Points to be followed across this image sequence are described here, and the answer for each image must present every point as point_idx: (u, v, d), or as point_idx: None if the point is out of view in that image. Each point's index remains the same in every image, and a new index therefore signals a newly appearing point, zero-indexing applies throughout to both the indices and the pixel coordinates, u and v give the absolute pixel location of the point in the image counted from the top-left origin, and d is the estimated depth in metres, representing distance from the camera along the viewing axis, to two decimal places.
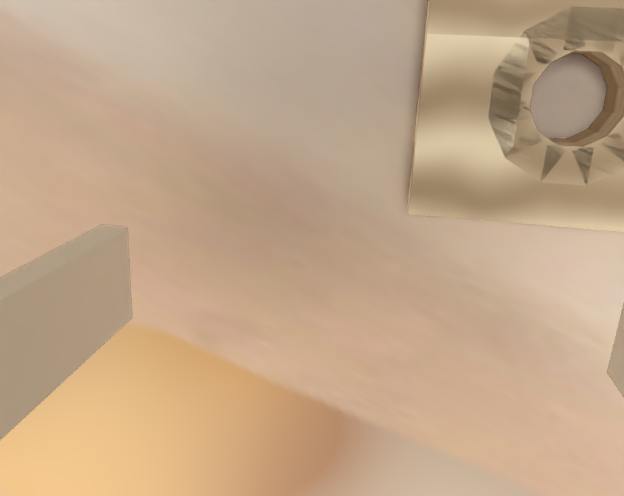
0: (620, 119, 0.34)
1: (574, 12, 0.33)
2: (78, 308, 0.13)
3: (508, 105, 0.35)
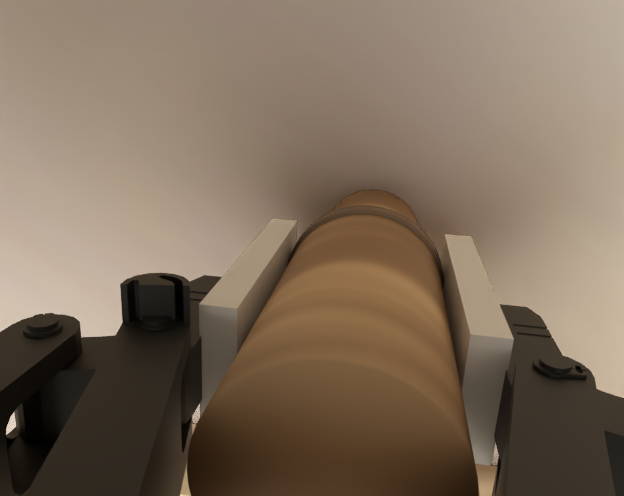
0: None
1: None
2: None
3: None
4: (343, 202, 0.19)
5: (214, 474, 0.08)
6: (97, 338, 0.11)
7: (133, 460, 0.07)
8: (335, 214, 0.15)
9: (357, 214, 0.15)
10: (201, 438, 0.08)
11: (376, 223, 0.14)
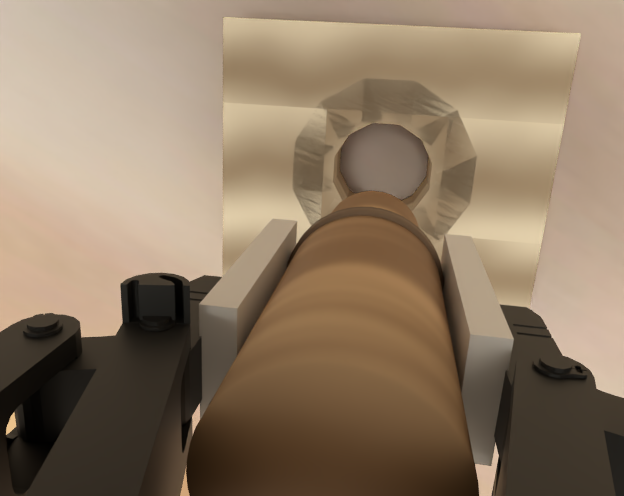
0: (425, 193, 0.33)
1: (369, 84, 0.31)
2: None
3: (311, 177, 0.33)
4: (343, 203, 0.19)
5: (213, 476, 0.08)
6: (97, 338, 0.11)
7: (132, 460, 0.07)
8: (335, 215, 0.15)
9: (357, 215, 0.15)
10: (201, 441, 0.08)
11: (376, 224, 0.14)
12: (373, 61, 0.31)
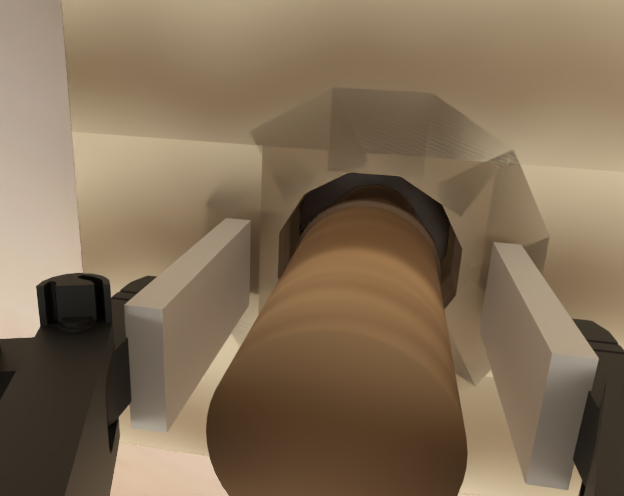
0: (449, 301, 0.18)
1: (341, 99, 0.16)
2: (224, 293, 0.14)
3: None
4: (345, 197, 0.20)
5: (230, 436, 0.09)
6: (19, 339, 0.10)
7: (58, 461, 0.07)
8: (338, 207, 0.16)
9: (358, 207, 0.16)
10: (219, 402, 0.09)
11: (376, 215, 0.15)
12: (348, 54, 0.16)
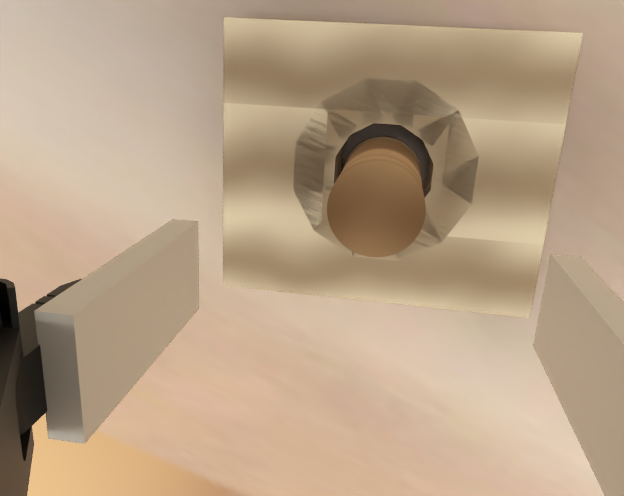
0: (427, 194, 0.33)
1: (370, 84, 0.31)
2: (162, 297, 0.14)
3: (312, 177, 0.33)
4: None
5: (336, 207, 0.24)
6: None
7: None
8: (368, 139, 0.31)
9: (379, 139, 0.31)
10: (333, 193, 0.24)
11: (389, 141, 0.30)
12: (374, 61, 0.31)
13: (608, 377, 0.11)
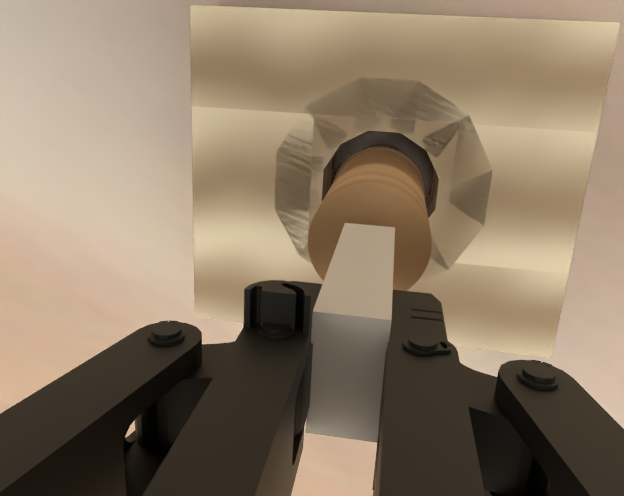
0: (431, 213, 0.28)
1: (364, 84, 0.26)
2: None
3: (296, 194, 0.28)
4: None
5: (319, 240, 0.19)
6: (211, 345, 0.11)
7: (245, 473, 0.07)
8: (362, 150, 0.26)
9: (375, 150, 0.26)
10: (315, 223, 0.19)
11: (386, 153, 0.25)
12: (368, 57, 0.26)
13: None
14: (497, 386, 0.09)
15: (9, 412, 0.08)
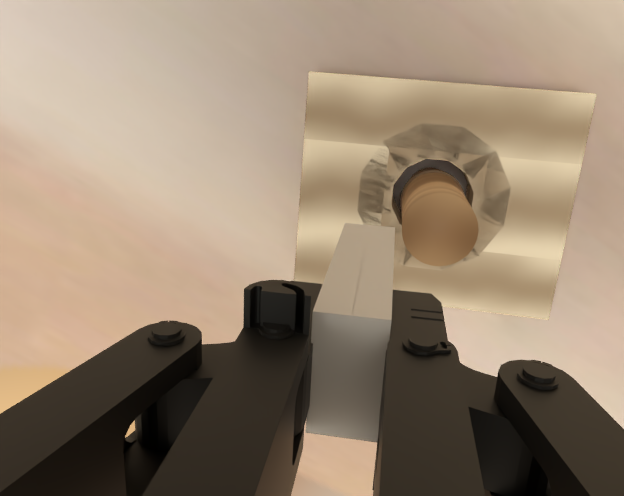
0: None
1: (425, 128, 0.39)
2: None
3: (373, 200, 0.41)
4: (418, 172, 0.43)
5: (409, 227, 0.32)
6: (211, 346, 0.11)
7: (245, 473, 0.07)
8: (423, 172, 0.39)
9: (432, 172, 0.38)
10: (407, 216, 0.32)
11: (440, 174, 0.38)
12: (429, 110, 0.39)
13: None
14: (497, 386, 0.09)
15: (9, 412, 0.08)
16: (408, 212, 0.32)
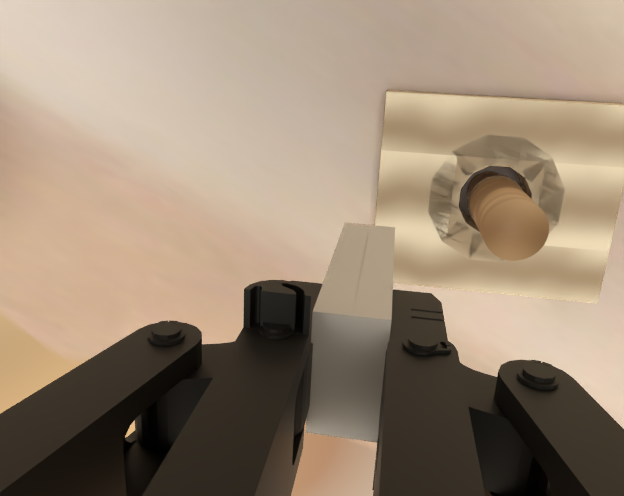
0: None
1: (489, 139, 0.44)
2: None
3: (442, 203, 0.47)
4: (478, 176, 0.49)
5: (489, 228, 0.38)
6: (211, 345, 0.11)
7: (245, 473, 0.07)
8: (488, 177, 0.44)
9: (496, 177, 0.44)
10: (488, 219, 0.37)
11: (505, 180, 0.43)
12: (493, 123, 0.44)
13: None
14: (497, 386, 0.09)
15: (8, 412, 0.08)
16: (488, 216, 0.37)
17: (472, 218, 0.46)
